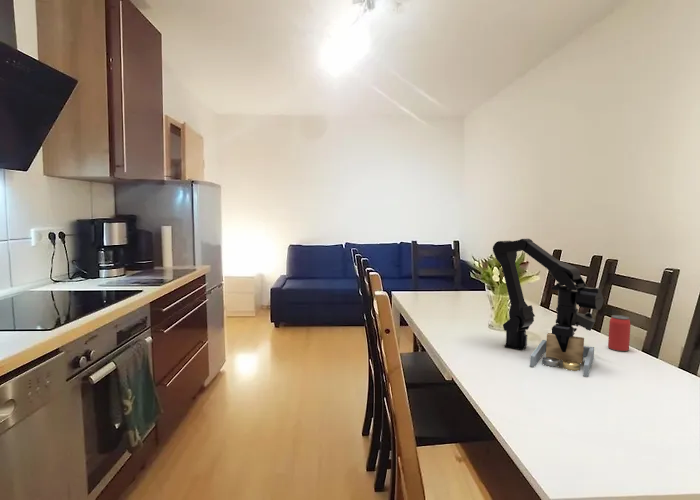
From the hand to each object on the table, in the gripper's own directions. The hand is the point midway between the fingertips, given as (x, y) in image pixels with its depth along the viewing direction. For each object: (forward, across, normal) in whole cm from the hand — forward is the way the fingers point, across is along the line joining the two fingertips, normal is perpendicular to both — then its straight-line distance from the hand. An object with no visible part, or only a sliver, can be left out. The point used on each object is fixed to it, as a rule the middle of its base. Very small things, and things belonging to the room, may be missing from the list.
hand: (564, 350), depth 153 cm
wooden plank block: (+3, 0, 0) cm, 3 cm away
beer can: (+3, +24, -15) cm, 28 cm away
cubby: (+3, -3, 0) cm, 4 cm away
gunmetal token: (+3, -8, +3) cm, 9 cm away
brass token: (+3, -8, -3) cm, 9 cm away
